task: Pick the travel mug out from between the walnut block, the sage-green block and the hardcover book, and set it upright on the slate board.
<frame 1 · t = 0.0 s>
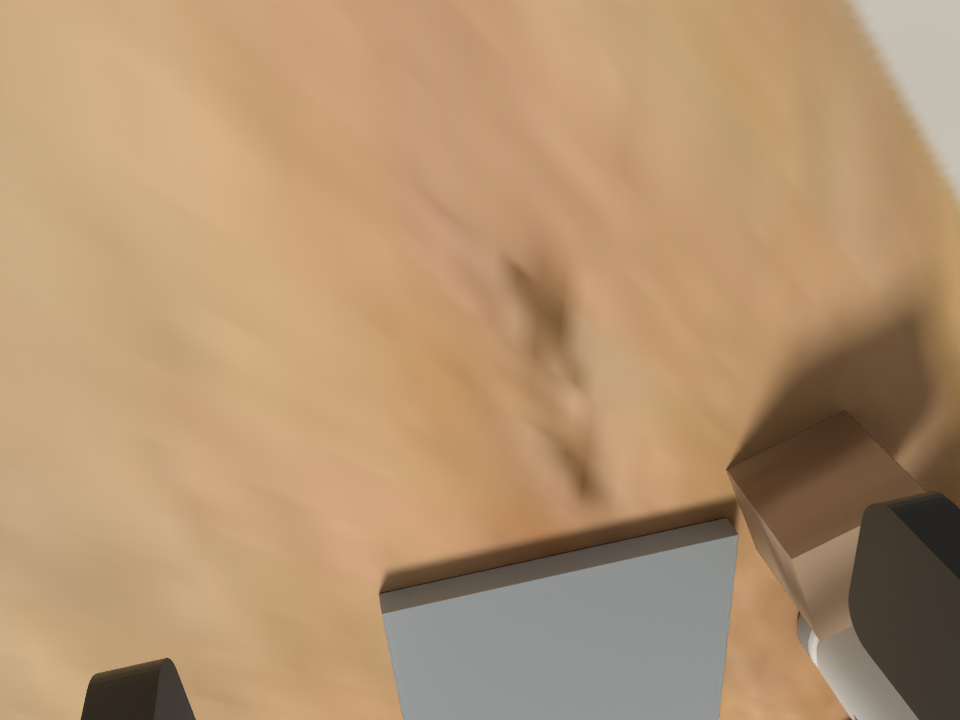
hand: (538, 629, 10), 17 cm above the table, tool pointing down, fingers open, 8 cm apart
walnut block: (797, 481, 35), on the table
travel mug: (857, 598, 40), on the table
slate board: (562, 672, 38), on the table
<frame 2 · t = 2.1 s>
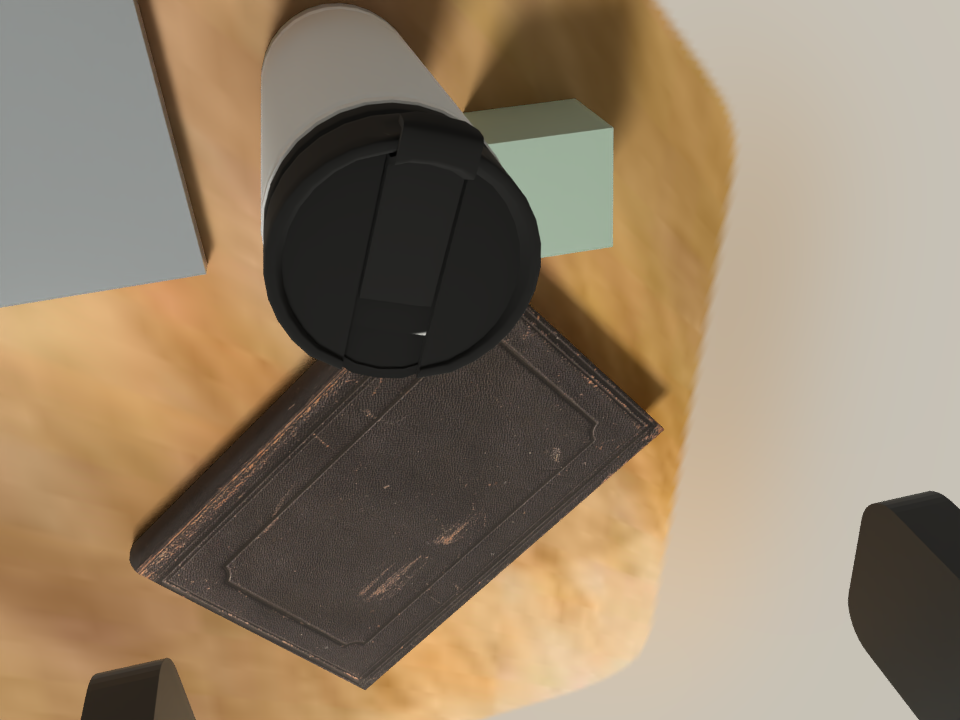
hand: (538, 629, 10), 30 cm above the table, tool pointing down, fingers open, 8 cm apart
sage block: (521, 161, 39), on the table
travel mug: (340, 78, 36), on the table
hardcover book: (398, 468, 47), on the table
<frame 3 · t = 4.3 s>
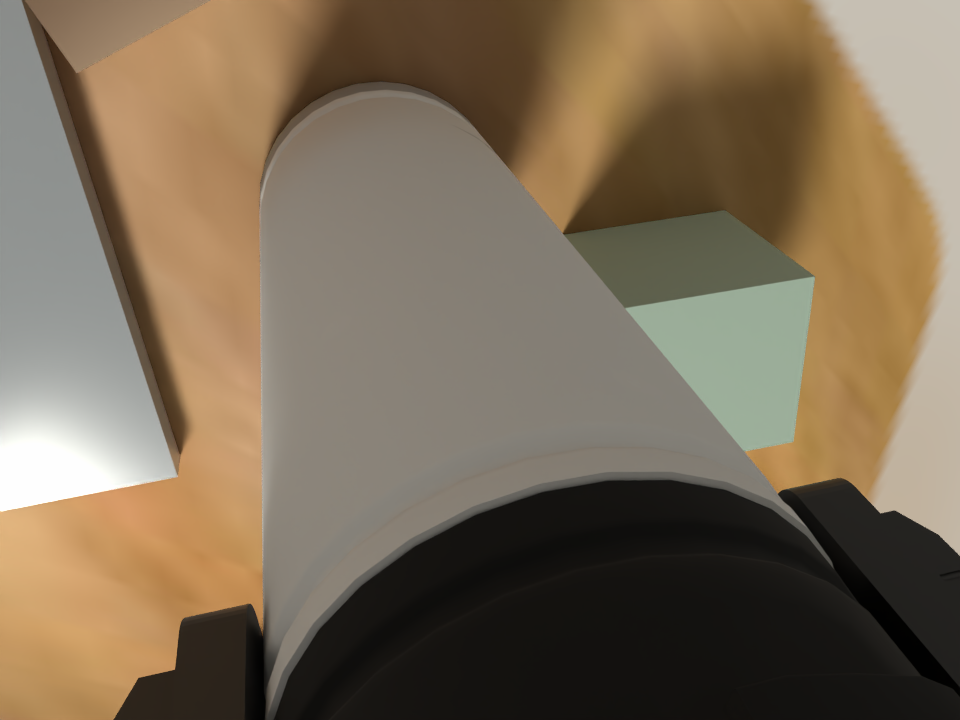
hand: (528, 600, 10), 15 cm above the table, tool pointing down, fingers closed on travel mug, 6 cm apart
sage block: (641, 298, 27), on the table
travel mug: (380, 191, 24), on the table, touching gripper
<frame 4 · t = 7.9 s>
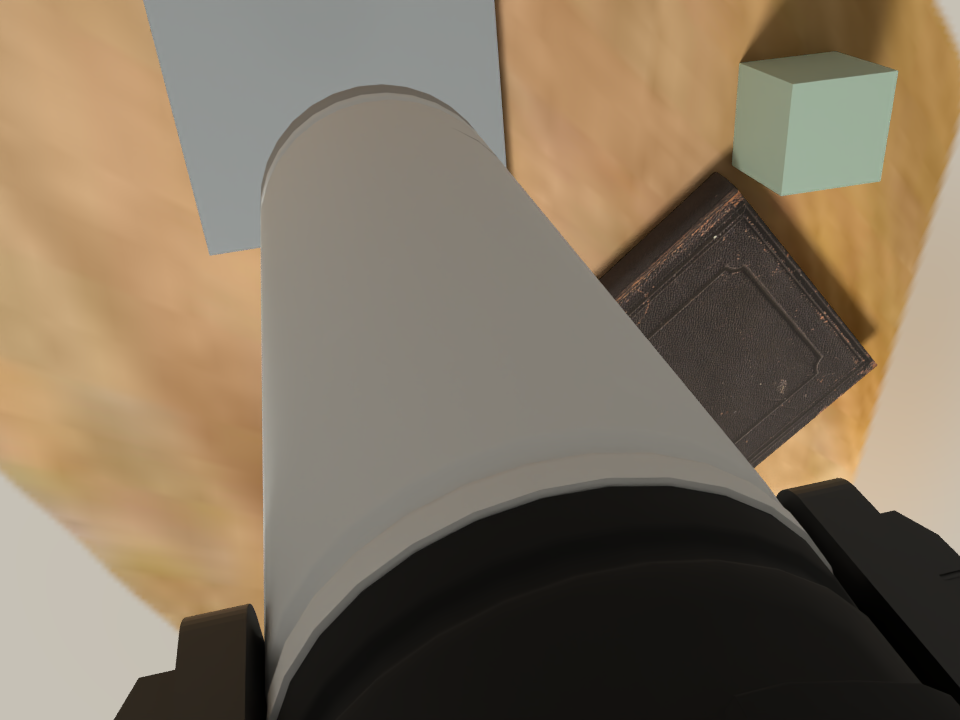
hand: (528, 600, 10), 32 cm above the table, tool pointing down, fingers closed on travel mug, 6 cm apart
sage block: (781, 108, 44), on the table
travel mug: (381, 193, 24), point 17 cm above the table, touching gripper
slate board: (336, 72, 38), on the table
hardcover book: (631, 400, 51), on the table
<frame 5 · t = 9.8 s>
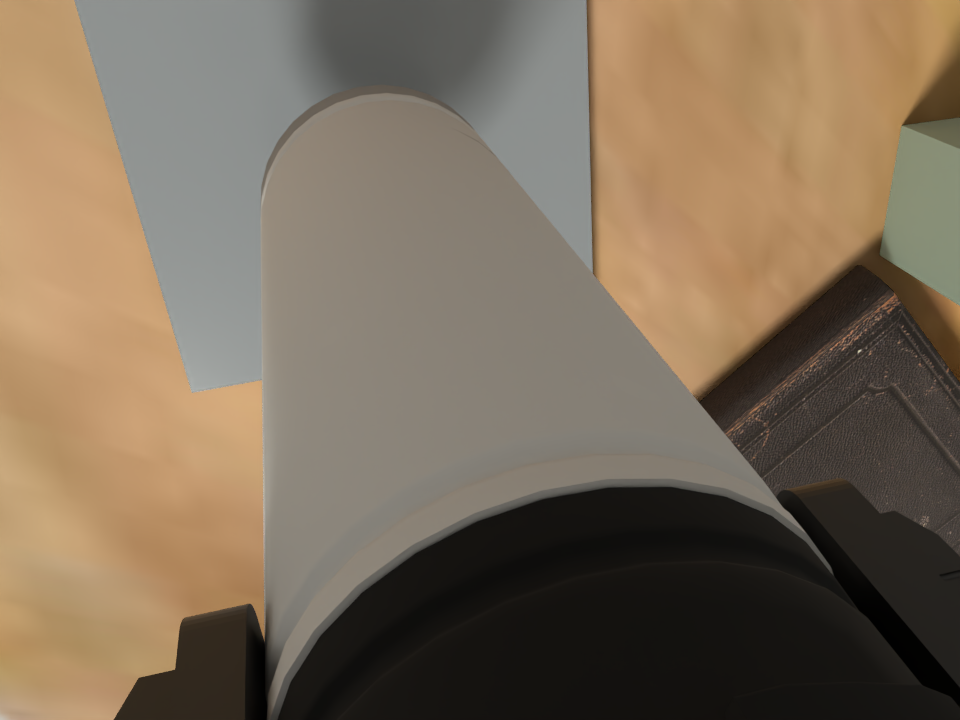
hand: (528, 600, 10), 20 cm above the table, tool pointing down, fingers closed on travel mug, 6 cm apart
sage block: (949, 182, 33), on the table
travel mug: (381, 194, 24), point 5 cm above the table, touching gripper
slate board: (365, 147, 28), on the table
hardcover book: (729, 536, 41), on the table
when the fingers open (17 cm above the table, at t = 11.5 s): travel mug stays where it is, resting on slate board.
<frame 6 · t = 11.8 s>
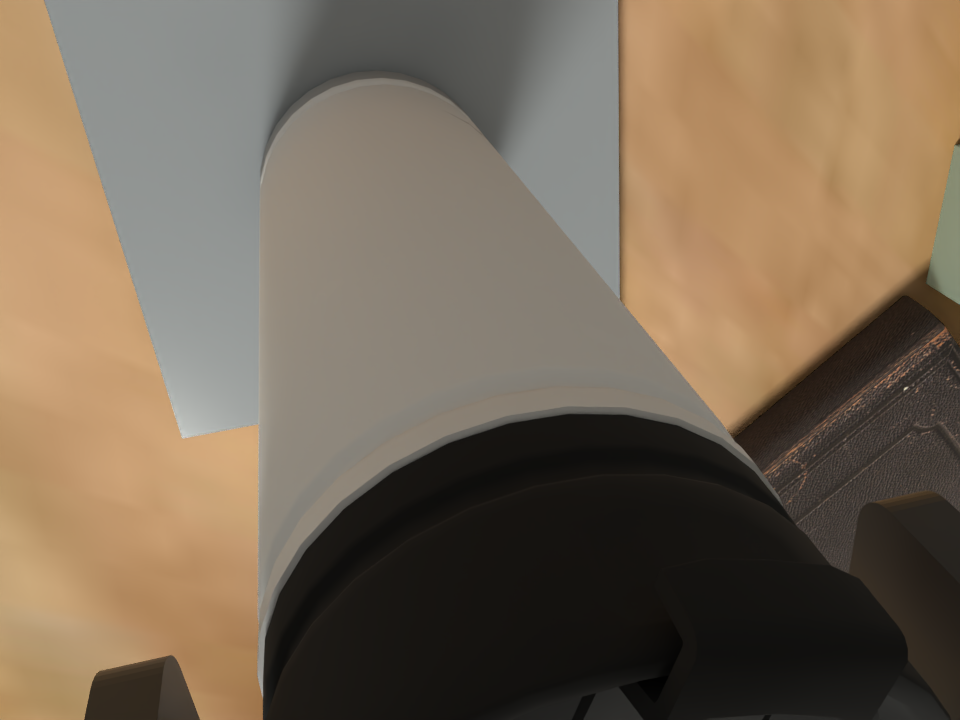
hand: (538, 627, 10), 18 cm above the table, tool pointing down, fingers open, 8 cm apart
travel mug: (376, 177, 24), point 1 cm above the table, touching slate board
slate board: (372, 171, 25), on the table
hardcover book: (757, 578, 38), on the table
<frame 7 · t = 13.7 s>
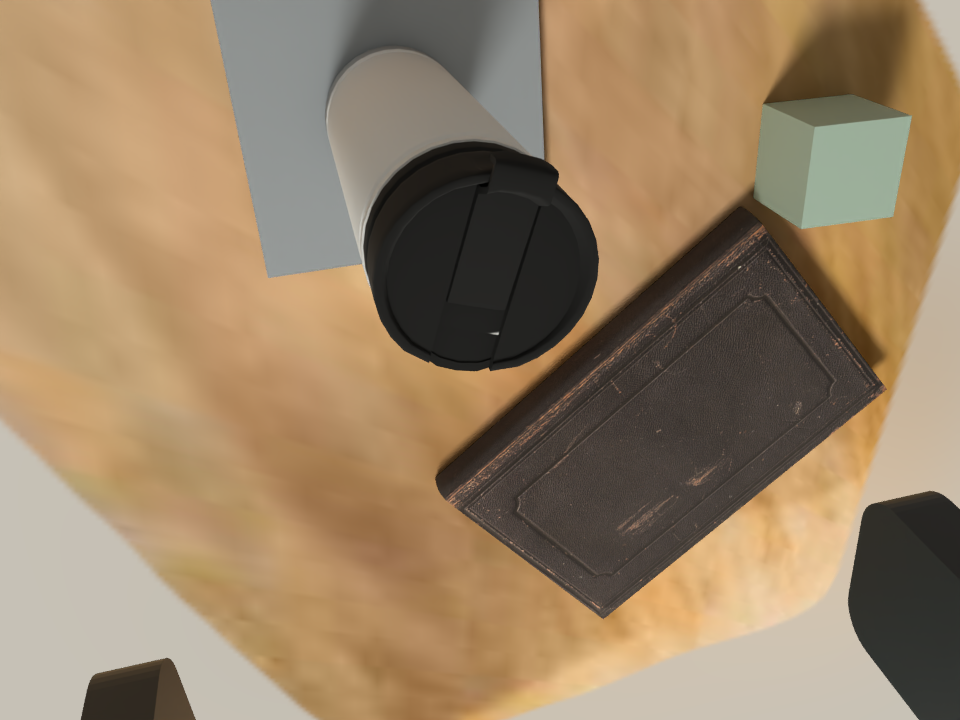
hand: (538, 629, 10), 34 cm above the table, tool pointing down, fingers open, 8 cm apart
sage block: (800, 146, 47), on the table
travel mug: (394, 111, 40), point 1 cm above the table, touching slate board
slate board: (391, 109, 41), on the table
hardcover book: (654, 418, 54), on the table
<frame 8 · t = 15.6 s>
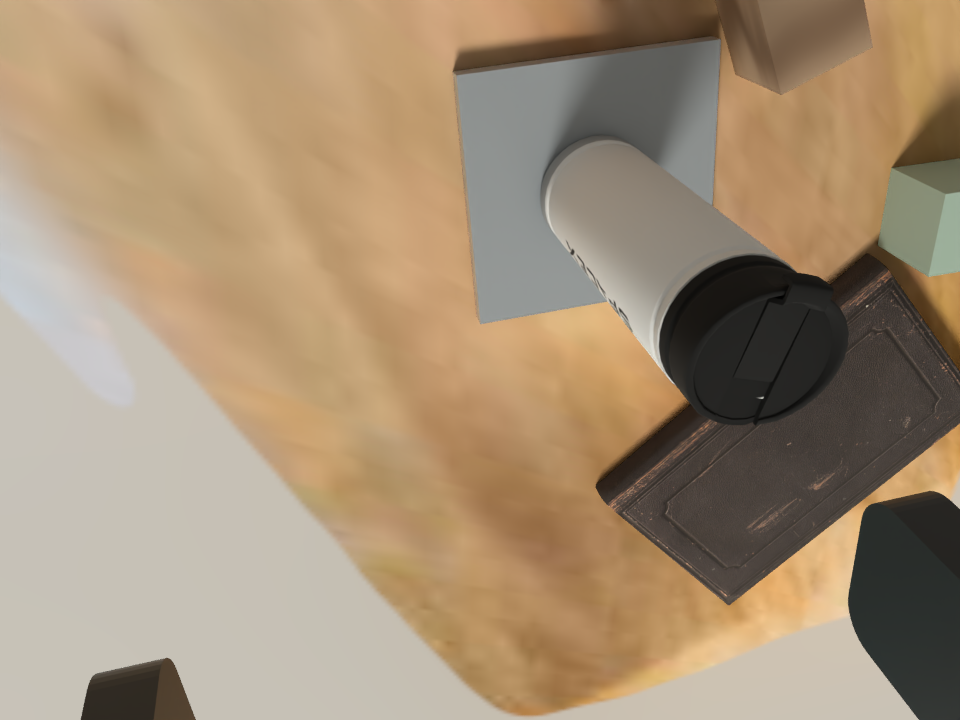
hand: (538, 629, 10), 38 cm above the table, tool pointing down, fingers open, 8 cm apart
sage block: (920, 201, 54), on the table
walnut block: (765, 8, 46), on the table
travel mug: (593, 186, 48), point 1 cm above the table, touching slate board
slate board: (588, 183, 49), on the table
hardcover book: (780, 432, 62), on the table
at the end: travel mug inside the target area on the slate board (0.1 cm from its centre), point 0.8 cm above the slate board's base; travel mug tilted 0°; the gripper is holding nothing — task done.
